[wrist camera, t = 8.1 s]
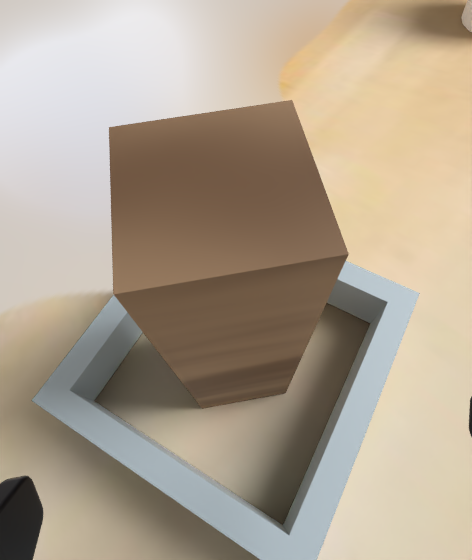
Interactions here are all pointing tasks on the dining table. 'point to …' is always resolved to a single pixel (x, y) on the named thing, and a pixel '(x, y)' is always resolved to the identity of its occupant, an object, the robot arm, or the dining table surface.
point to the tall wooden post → (223, 245)
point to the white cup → (467, 16)
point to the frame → (198, 486)
